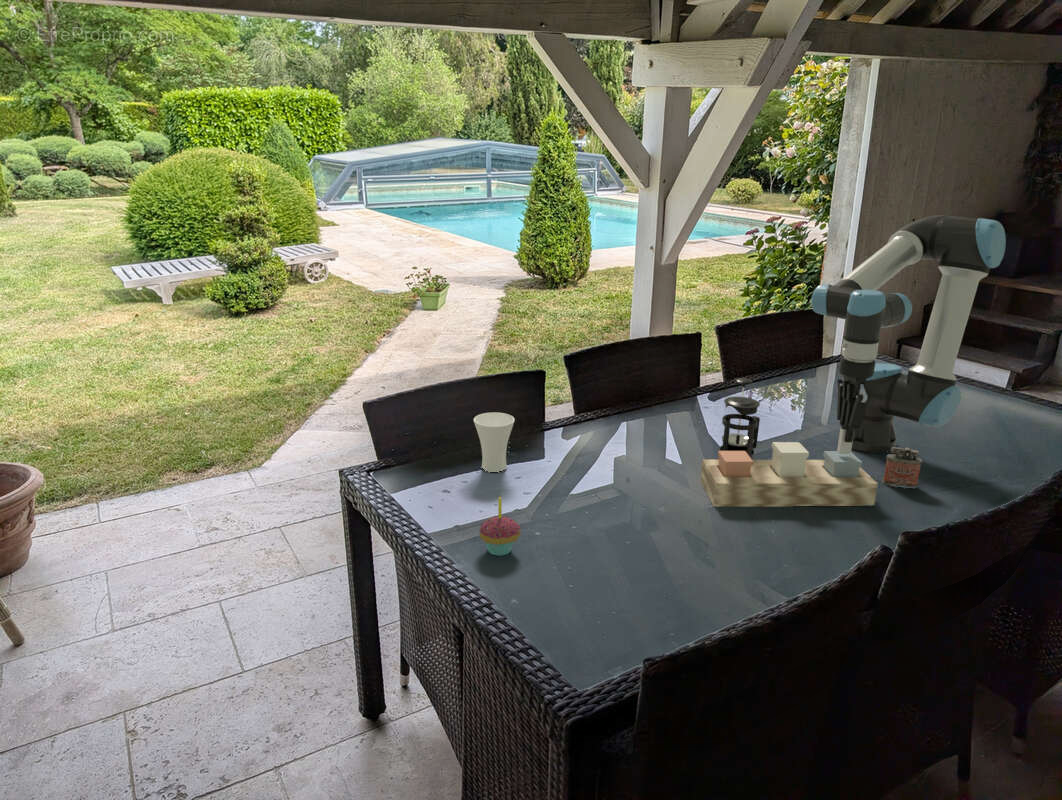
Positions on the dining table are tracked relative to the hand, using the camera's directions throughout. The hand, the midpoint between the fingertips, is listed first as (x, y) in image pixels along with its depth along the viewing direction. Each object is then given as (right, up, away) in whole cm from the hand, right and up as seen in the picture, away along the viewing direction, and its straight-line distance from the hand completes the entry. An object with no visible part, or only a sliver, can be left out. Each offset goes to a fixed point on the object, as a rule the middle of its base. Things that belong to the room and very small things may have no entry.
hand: (843, 452), depth 185 cm
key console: (-13, -10, +3) cm, 17 cm away
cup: (-85, -5, +15) cm, 86 cm away
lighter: (+18, -9, +9) cm, 21 cm away
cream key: (-13, -5, +1) cm, 14 cm away
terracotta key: (-26, -7, +1) cm, 27 cm away
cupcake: (-82, -19, -25) cm, 87 cm away
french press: (-20, -4, +22) cm, 30 cm away
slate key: (0, -7, +2) cm, 7 cm away
